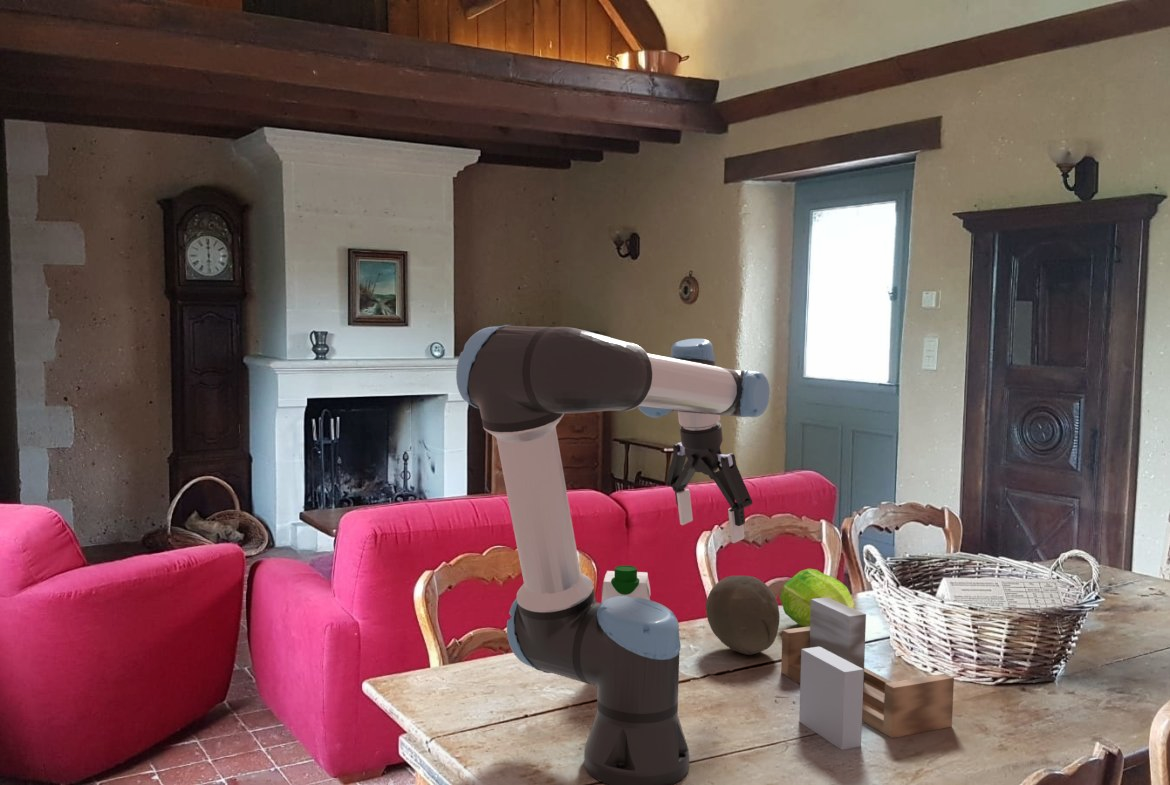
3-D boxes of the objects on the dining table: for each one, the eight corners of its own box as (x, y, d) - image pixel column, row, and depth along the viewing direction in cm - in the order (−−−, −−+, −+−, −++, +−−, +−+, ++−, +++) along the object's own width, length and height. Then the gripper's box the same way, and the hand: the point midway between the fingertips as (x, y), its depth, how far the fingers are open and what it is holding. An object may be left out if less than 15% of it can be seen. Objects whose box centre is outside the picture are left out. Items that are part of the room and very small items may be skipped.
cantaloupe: (775, 642, 195) (777, 568, 194) (781, 667, 181) (784, 588, 180) (704, 639, 197) (706, 566, 196) (705, 663, 183) (707, 585, 182)
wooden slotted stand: (891, 738, 151) (894, 649, 150) (781, 672, 178) (783, 597, 177) (951, 726, 155) (955, 640, 154) (835, 664, 183) (837, 591, 182)
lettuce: (818, 652, 190) (820, 592, 189) (769, 621, 209) (771, 566, 208) (880, 646, 194) (882, 587, 193) (826, 616, 213) (828, 562, 212)
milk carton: (598, 681, 173) (600, 570, 172) (602, 663, 182) (604, 558, 181) (647, 683, 172) (649, 572, 171) (649, 665, 181) (651, 560, 180)
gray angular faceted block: (842, 749, 147) (844, 672, 146) (799, 721, 157) (801, 649, 156) (861, 746, 148) (863, 669, 147) (817, 718, 158) (819, 646, 157)
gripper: (765, 429, 169) (775, 540, 175) (669, 408, 188) (680, 509, 194) (735, 441, 165) (746, 555, 170) (639, 418, 184) (652, 522, 190)
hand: (711, 531), depth 182 cm, fingers open, 13 cm apart
